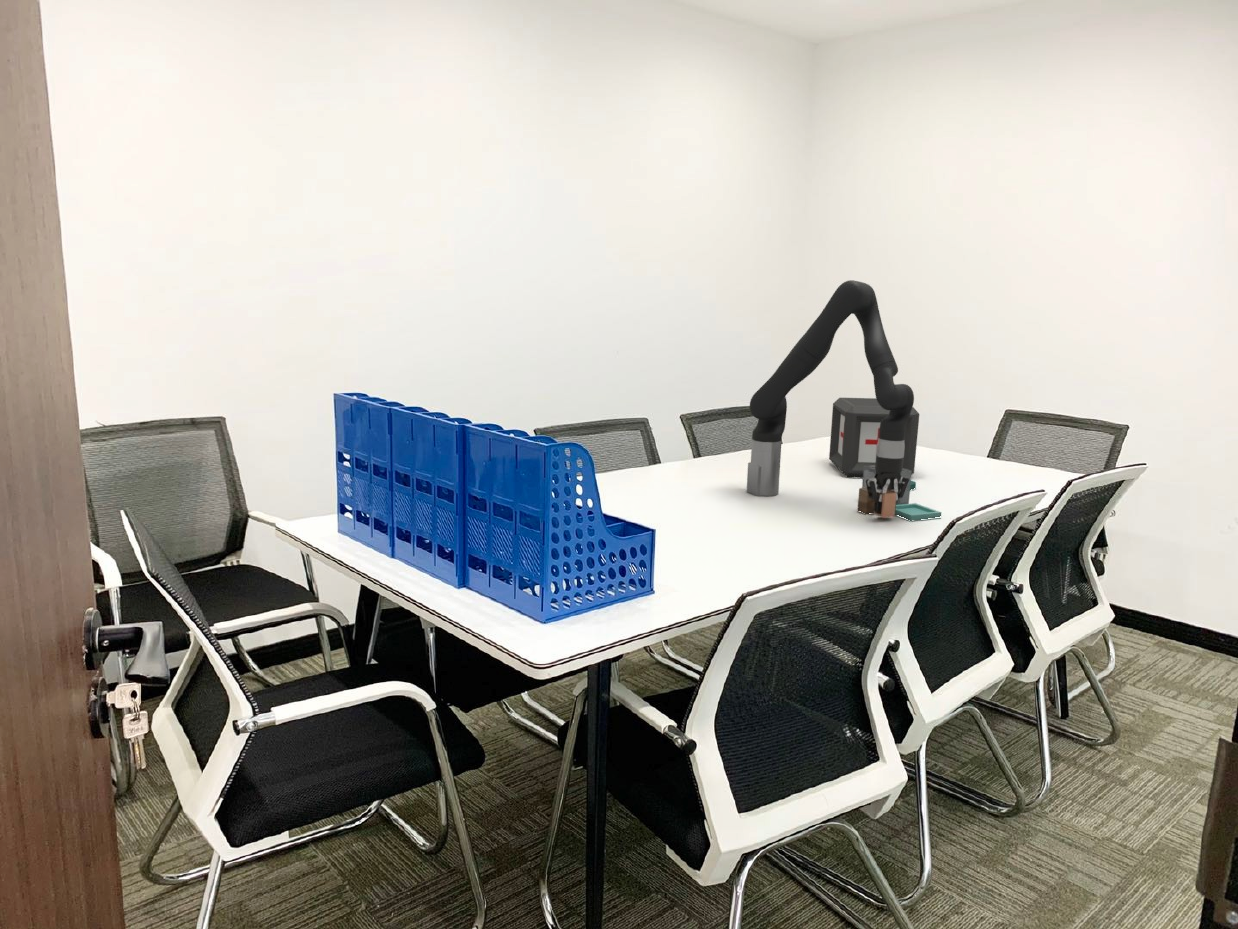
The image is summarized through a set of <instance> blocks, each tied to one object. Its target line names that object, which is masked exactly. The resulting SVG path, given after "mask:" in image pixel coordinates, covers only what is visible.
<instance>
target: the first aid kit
mask: <svg viewBox="0 0 1238 929" xmlns="http://www.w3.org/2000/svg"><path fill="white" fill-rule="evenodd" d="M889 412H890V410H885V409H883V408H882V407H881V406H880V405H879V403H878V402H877V399H876V397H875V398H874V397H873V398H872V397H866V398H865V397H839V398H837V399H836V400H835V401H834V402H833V403H832V416H831V427H830V428H831V429H830V442H829V452H828V453H829V455H828V460H830V462H832V464H833V465H834V467H836V468H837V469H838V470H839V471H840V472H841V473H842V474H844V476H845V477H846V478H852V477H863V470H864V466H872V465H875V462H876V451H877V444H878V439H879V429H880V423H881V420H882V419H883V418H885V417H887V416H888V415H889ZM919 423H920V413H919V412H918V411H917V410H916V409H915V407H912V410H911V413H910V416H909V419H908V421H907V424H906V429H905V440H904V445H905V448H904V459H903V468H904V469H907V470H911V471H912V473H911V476H913V474H915V465H916V454H917V447H918V446H917V445H918V444H917V443H918V432H919V425H920V424H919Z"/></svg>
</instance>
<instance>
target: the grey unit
mask: <svg viewBox="0 0 1238 929" xmlns="http://www.w3.org/2000/svg"><path fill="white" fill-rule="evenodd" d="M900 473H901V477H905V478H908V479H909V482H908V484H907V487H906V490H905V492H904V495H903V497H902V498H898V500H897V501H896V505H902V504H910V494H911V491H910V484H911V481H912V475H911V473H912V471H911V470H907V469H904V468H903V469H902V472H900ZM875 474H876V470H875V465H872V466H864V470H863V478H862V483H861V484H862V486H861V488H867V486H866V480H867V479H869V480H870V479H873V478H874V476H875ZM876 484H877V483H876ZM897 485H898V484H897ZM875 487H876V486H875ZM880 490H882V489H880ZM900 491H901V489H900ZM899 493H900V492H899Z"/></svg>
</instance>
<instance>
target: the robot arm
mask: <svg viewBox="0 0 1238 929" xmlns="http://www.w3.org/2000/svg"><path fill="white" fill-rule="evenodd" d="M879 309H880V308H879V305H878V299H877V295H876V293H875V289H873V287H872V286H871V285H870V284H868V283H865V282H862V281H858V280H850V279H849V280H846V281H844V282H842V283H841V284H840V285H839V286H838V287H837V288H836V289H835V291H834V292H833V294H832V296H831V297H830V298H829V300H828V302H827V304H826V305H825V307H824V308H823V309H822V311H821V313H820V314H819V315H818V316H817V317H816V319H815V320H814V321H813V323H812V324H811V325H810V326H809V327H808V329H807V330H806V331H805V333H804V334H803V335H802V336H801V337H800V339H799V340H798V341H797V343H795V345H794V346H793V347H792V349H791V350H790V351H789V352H788V354H787V356H786V357H785V358H784V360H782V362H781V363H780V364H779V366H778V367H777V368H776V369H775V371H774V373H773V374H772V375H771V376H770V377H769V378H768V380H767V381H766V382H765V383H763V385H762V386H760V387H759V388H758V390H757V391H756V392H754V394H753V395H752V396H751V397H750V401H749V410H750V413H751V415H752V416H753V417H754V418H755V419H758V420H757V424H756V426H755V427H754V428H753V430H752V433H751V434H752V435H751V448H750V449H751V452H750V462H748V463H747V474H746V477H747V478H746V492H747V493H750V494H751V495H753V496H755V497H757V496H759V497H760V496H761V497H772V496H777V495H779V492H780V491H779V488H780V474H781V473H780V471H781V470H780V469H781V459H782V458H781V457H782V456H781V455H782V443H783V442H782V441H783V434H784V433H785V429H786V421H787V420H786V418H787V410H788V409H787V408H788V404H787V403H788V401H787V397H786V396H787V395H788V393H789V392H790V391H791V390H792V389H794V387H796V386H797V385H799V384H800V383H801V382H803V381H804V380H805V379H806V378H808V376H809V375H811V374H812V373H813V372H814V371H815V370H816V369H817V368H818V367H819V365H820V364H821V363H822V362H823V361H824V359H826V356H827V355H828V354H829V352H830V350H831V347H832V345H833V341H834V339H835V335H836V333H837V331H838V330H839V328H840V326H842V325H843V323H844V322H845V321H846V320H847V319H848V318H849V316H851V315H854V317H855V318H856V320H857V321H858V323H859V325H860V327H861V330H862V335H863V347H864V355H865V357H866V360H867V363H868V367H869V369H870V371H871V374H872V376H873V386H874V394H875V398H876V399H877V402H878V403H879V405H880V406H881V407H882V408H883V409H885V410H890V412H889V415H888V416H887V417H885V418H883V419H882V420H881V423H880V429H879V439H878V444H877V451H876V462H875V470H876V474H875V476H874V478H873V479H870V480H869V479H867V480H866V486H867V491H868V496H869V498H871V499H874V501H875V502H874V511H875V513H876V514H881V512H882V502H881V501H882V500H883V495H884V494H886V491H887V490H888V491H891V492H894V493H897V495H896V501H897V500H898V498H902V497H903V495H904V492H905V490H906V487H907V484H908V482H909V479H908V478H905V477H901V473H900V472H902V469H903V459H904V448H905V445H904V440H905V429H906V424H907V421H908V419H909V416H910V413H911V410H912V407H913V406H914V402H915V395H914V392H913V389H912V387H911V386H909V385H908V384H906V383H905V384H904V383H898V384H896V383H895V381H894V377H895V376H896V375H897V374H898V373H899V367H898V365H897V364H898V363H897V362H896V359H895V357H894V355H893V352H892V349H891V346H890V345H889V341H888V339H887V336H886V334H885V328H884V326H883V323H882V321H883V320H882V318H881V314H880V310H879ZM876 483H877V484H876ZM897 484H898V485H897ZM875 486H876V487H875ZM880 489H882V490H880ZM900 489H901V491H900ZM899 492H900V493H899ZM879 493H880V495H879ZM895 509H896V505H895Z"/></svg>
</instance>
